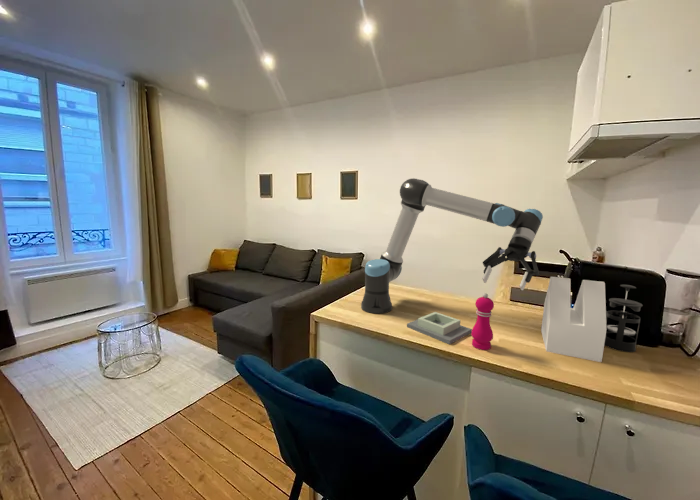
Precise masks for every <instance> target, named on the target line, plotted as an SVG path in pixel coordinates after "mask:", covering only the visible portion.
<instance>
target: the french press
mask: <svg viewBox="0 0 700 500" xmlns="http://www.w3.org/2000/svg"><path fill="white" fill-rule="evenodd" d="M619 286H620V287H622V288H624V289H625V298H619V297H618V298H617V297H611V298H609V299H608V301H609V307H611V308H616V307H623V310H608V311H607V310H606V329H607V330H608V331H607V330H606V336H605V343H604V347H607V348H610V349H613V350H615V351H617V352H618V351H619V352H624V353H635V352H636V351H637V347H636V345H637V341H638V335H639V329H640V324H641V317H640V316H639V315H637V314H634V313H631V312H628V311H625V310H626V307H627V308H629V309H631V310H633V311H634V312H637V313H638V312H640V311H641V308H642V307H643V306H644V305H643V304H642V303H641V302H638V301H635V300H633V299H632V300H631V299H627V298H628V292H630V289H637V287H636V286H634V285H630V284H620V285H619ZM615 315H619V316H615ZM627 317H628V318H627ZM629 317H630V318H632V319H630V318H629ZM608 318H610V319H612V320H613V321H617V322H618V324H616V325H615V324H607V322H608ZM626 323H627V324H638V325H637V329H636V330H637V331H636V330H634V329H632V328H629V327H626ZM634 336H635V338H634Z"/></svg>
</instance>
